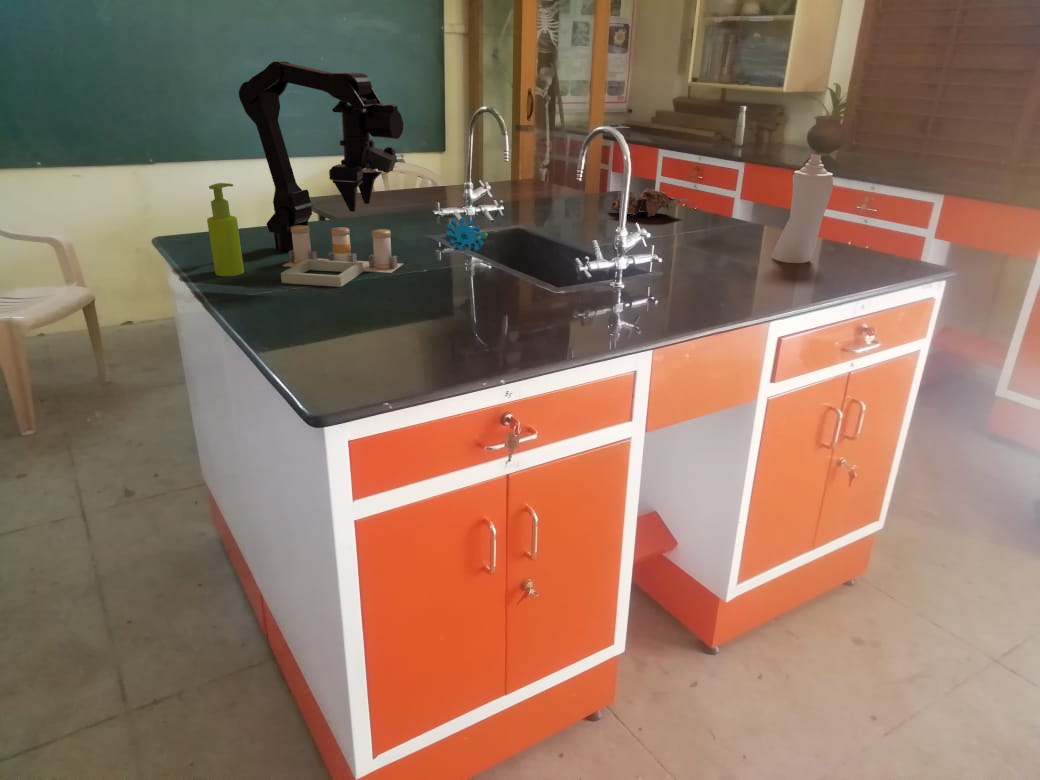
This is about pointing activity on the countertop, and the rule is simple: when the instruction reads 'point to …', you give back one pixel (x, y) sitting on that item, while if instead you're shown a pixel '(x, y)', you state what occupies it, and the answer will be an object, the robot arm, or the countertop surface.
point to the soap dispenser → (224, 236)
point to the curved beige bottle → (805, 212)
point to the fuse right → (382, 249)
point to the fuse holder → (366, 265)
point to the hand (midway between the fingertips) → (359, 207)
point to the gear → (465, 235)
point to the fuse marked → (341, 244)
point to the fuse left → (301, 243)
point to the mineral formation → (648, 202)
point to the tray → (300, 277)
